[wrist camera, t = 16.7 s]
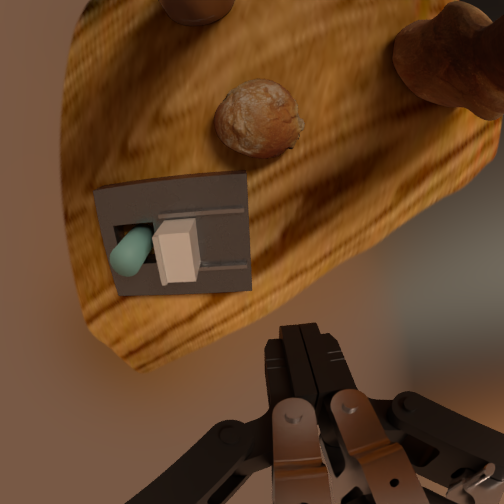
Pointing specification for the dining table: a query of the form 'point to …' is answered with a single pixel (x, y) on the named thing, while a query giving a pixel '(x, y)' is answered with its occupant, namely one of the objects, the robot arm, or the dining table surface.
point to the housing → (182, 207)
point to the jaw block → (177, 250)
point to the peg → (132, 250)
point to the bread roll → (258, 119)
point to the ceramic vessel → (455, 60)
